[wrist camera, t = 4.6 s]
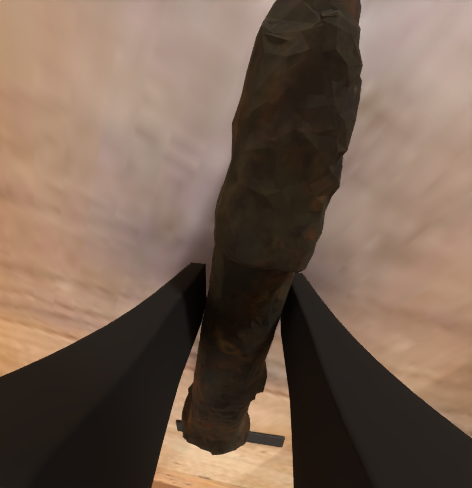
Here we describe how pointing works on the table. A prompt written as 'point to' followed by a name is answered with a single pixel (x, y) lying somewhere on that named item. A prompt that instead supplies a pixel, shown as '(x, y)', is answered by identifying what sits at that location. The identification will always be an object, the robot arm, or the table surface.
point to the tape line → (255, 437)
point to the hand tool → (272, 202)
